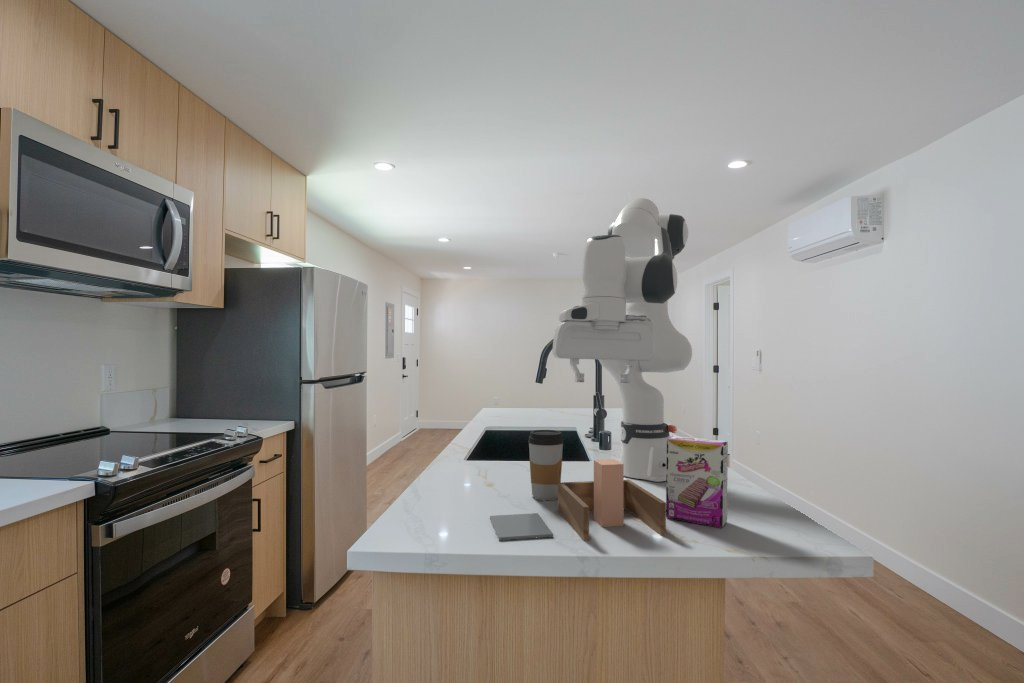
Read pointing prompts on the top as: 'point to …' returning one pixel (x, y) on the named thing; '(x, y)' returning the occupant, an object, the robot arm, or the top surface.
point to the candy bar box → (697, 480)
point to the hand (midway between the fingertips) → (602, 382)
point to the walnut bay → (641, 503)
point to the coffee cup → (545, 463)
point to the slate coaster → (520, 526)
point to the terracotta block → (608, 492)
